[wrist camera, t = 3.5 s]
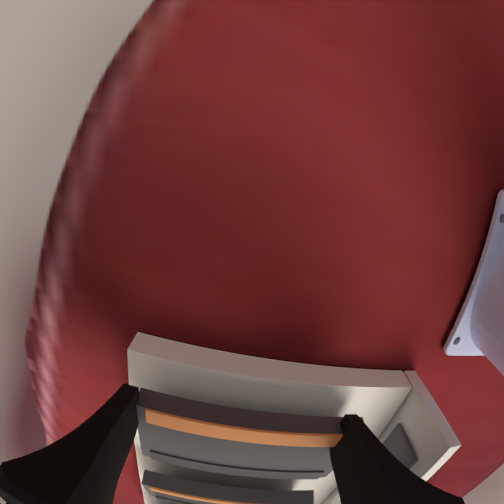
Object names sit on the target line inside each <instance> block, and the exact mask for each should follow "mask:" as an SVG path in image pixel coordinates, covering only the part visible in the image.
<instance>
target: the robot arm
mask: <svg viewBox="0 0 504 504" xmlns="http://www.w3.org/2000/svg"><path fill="white" fill-rule="evenodd" d="M500 215H501V217H500ZM499 219H500V220H499ZM443 351H444V352H445V353H446V354H447V355H452V356H486V357H487V358H488V359H489V361H490V362H491V363H492V364H493V365H494V366H495V367H496V368H497V369H498V370H499V371H500V372H501V373H502V374H503V375H504V190H500V191H499V193H498V195H497V200H496V204H495V208H494V213H493V217H492V221H491V225H490V228H489V232H488V236H487V239H486V242H485V246H484V249H483V252H482V255H481V258H480V261H479V264H478V267H477V270H476V273H475V276H474V278H473V281H472V284H471V286H470V289H469V292H468V294H467V297H466V299H465V301H464V304H463V306H462V308H461V311H460V313H459V315H458V318H457V320H456V322H455V324H454V326H453V328H452V330H451V333H450V335H449V337H448V339H447V341H446V343H445V345H444V347H443ZM138 399H139V387H136V386H132V385H128V384H123V385H122V386H121V387H120V388H119V389H118V390H117V392H116V393H115V394H114V395H113V396H112V397H111V398H110V399H109V400H108V401H107V402H106V403H105V404H104V405H103V406H102V407H101V408H100V409H99V410H97V411H96V412H95V413H94V414H93V415H92V416H91V417H90V418H88V419H87V420H86V421H85V422H84V423H82V424H81V425H80V426H79V427H77V428H76V429H74V430H73V431H72V432H70V433H69V434H67V435H66V436H64V437H63V438H61V439H59V440H57V441H56V442H54V443H52V444H50V445H49V446H47V447H45V448H43V449H41V450H38V451H35V452H33V453H31V454H28V455H26V456H23V457H20V458H16V459H13V460H10V461H6V462H2V464H1V465H0V497H2V499H3V500H5V501H6V502H7V503H6V504H112V503H113V499H114V494H115V490H116V486H117V482H118V479H119V476H120V473H121V471H122V468H123V466H124V463H125V461H126V458H127V456H128V453H129V451H130V448H131V446H132V443H133V441H134V438H135V435H136V432H137V428H138V424H139V422H138V415H137V407H136V404H137V402H138ZM340 425H341V430H342V434H343V437H342V438H341V439H340V440H339V442H338V443H337V444H336V445H335V446H334V447H331V449H330V459H331V464H332V468H333V472H334V476H335V480H336V484H337V488H338V492H339V496H340V501H341V504H465V503H464V501H463V499H462V498H460V497H457V496H455V495H452V494H449V493H447V492H445V491H443V490H441V489H439V488H437V487H435V486H433V485H431V484H429V483H428V482H426V481H425V480H423V479H422V478H420V477H419V476H417V475H416V474H414V473H413V472H412V471H411V470H409V469H408V468H407V467H406V466H404V465H403V464H402V463H401V462H400V461H399V460H398V459H397V458H396V457H395V456H394V455H393V454H392V453H391V452H390V451H389V450H388V449H387V448H386V447H385V446H384V445H383V444H382V443H381V442H380V440H379V439H378V438H377V437H376V436H375V435H374V434H373V432H372V431H371V430H370V429H369V428H368V426H367V425H366V424H365V423H364V422H363V421H362V419H361V418H360V417H359V416H358V415H357V414H345V415H344V417H343V419H342V420H341V422H340ZM0 504H1V503H0Z"/></svg>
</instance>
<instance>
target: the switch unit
mask: <svg viewBox="0 0 504 504" xmlns="http://www.w3.org/2000/svg"><path fill="white" fill-rule="evenodd" d="M127 354H128V378H129V385H132V386H136V387H139V391H140V388H145V389H149V390H152V391H156V392H160V393H164V394H168V395H172V396H177V397H181V398H186V399H190V400H195V401H200V402H205V403H210V404H216V405H222V406H227V407H234V408H240V409H247V410H255V411H263V412H272V413H282V414H293V415H307V416H328V417H344V415H345V414H357V415H358V416H359V417H363V420H364V423H365V424H366V425H367V426H368V428H369V429H370V430H371V431H372V432H373V434H374V435H375V436H376V437H377V438H378V439H379V440H380V442H381V443H382V444H383V445H384V446H385V447H386V448H387V449H388V450H389V451H390V452H391V453H392V454H393V455H394V456H395V457H396V458H397V459H398V460H399V461H400V462H401V463H402V464H403V465H404V466H406V467H407V468H408V469H409V470H411V471H412V472H413V473H414V474H416V475H417V476H419V477H420V478H422V479H423V480H425V481H427V480H428V479H429V478H430V477H431V476H432V475H433V474H434V473H435V472H436V471H437V470H438V469H439V468H440V467H441V466H442V465H443V464H444V463H445V462H446V461H447V460H448V459H449V458H450V457H451V456H452V455H453V454H454V453H455V451H456V450H457V449H458V448H459V447H460V446H461V443H460V442H459V440H458V438H457V437H456V435H455V433H454V432H453V430H452V428H451V427H450V425H449V423H448V422H447V420H446V418H445V417H444V415H443V414H442V412H441V410H440V409H439V407H438V406H437V404H436V402H435V401H434V399H433V398H432V396H431V395H430V393H429V391H428V390H427V388H426V387H425V385H424V384H423V382H422V381H421V379H420V378H419V376H418V375H417V373H416V372H415V371H404V372H402V371H401V370H376V369H359V368H345V367H334V366H323V365H314V364H305V363H296V362H289V361H281V360H274V359H267V358H261V357H254V356H248V355H242V354H236V353H231V352H225V351H220V350H215V349H210V348H205V347H200V346H195V345H191V344H186V343H182V342H177V341H173V340H169V339H164V338H160V337H156V336H152V335H148V334H144V333H141V332H138V333H137V334H136V336H135V337H134V339H133V341H132V342H131V344H130V346H129V347H128V349H127ZM134 443H135V450H136V457H137V464H138V470H139V476H140V481H141V483H142V479H143V475H144V470H149V471H152V472H156V473H160V474H164V475H168V476H173V477H177V478H182V479H187V480H192V481H198V482H203V483H209V484H216V485H223V486H231V487H241V488H252V489H266V490H314V504H341V501H340V496H339V492H338V488H337V484H336V480H335V476H334V472H333V470H332V471H331V472H330V473H329V474H328V475H327V476H326V477H319V478H318V479H271V478H256V477H245V476H236V475H228V474H221V473H214V472H208V471H202V470H196V469H191V468H186V467H181V466H176V465H172V464H168V463H164V462H160V461H156V460H152V459H151V457H148V456H144V455H142V450H141V444H140V439H139V433H138V428H137V432H136V435H135V438H134ZM141 487H142V492H143V497H144V501H145V504H178V503H173V502H169V501H164V500H160V499H157V498H156V497H154V496H150V495H149V493H148V492H147V491H146V489H145V488H144V487H143V485H142V484H141Z"/></svg>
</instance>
